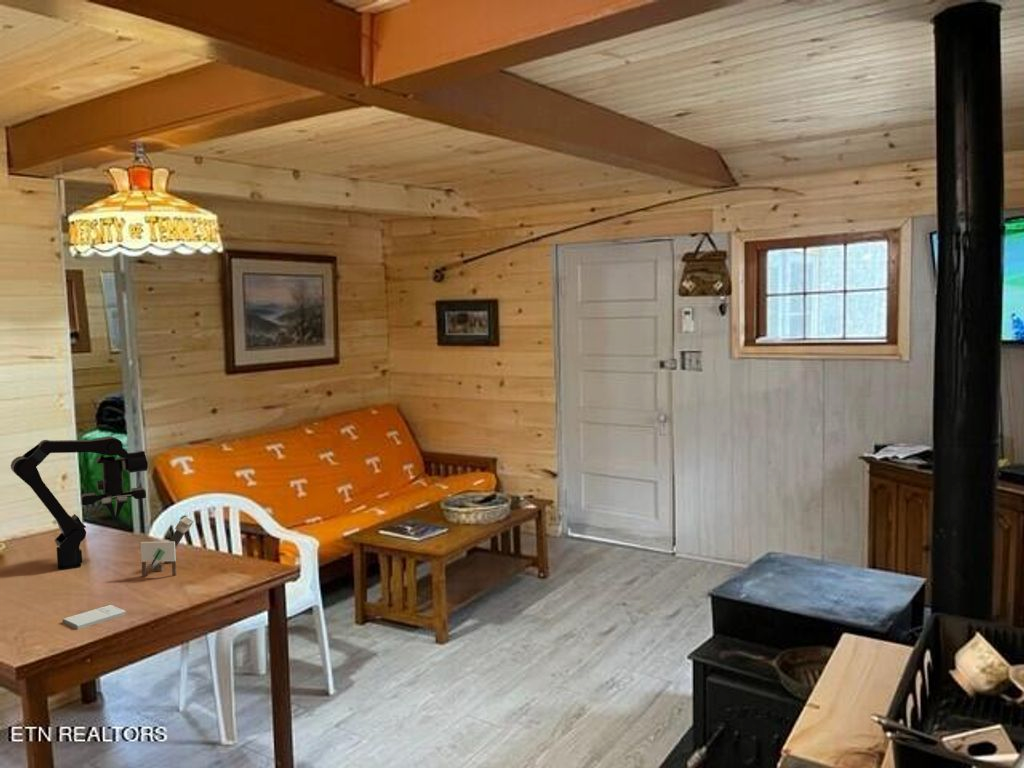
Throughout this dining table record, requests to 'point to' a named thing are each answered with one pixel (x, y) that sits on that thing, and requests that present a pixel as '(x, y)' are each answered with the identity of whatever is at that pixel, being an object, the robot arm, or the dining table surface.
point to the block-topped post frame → (175, 537)
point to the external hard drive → (94, 617)
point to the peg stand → (160, 567)
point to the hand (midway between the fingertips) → (115, 521)
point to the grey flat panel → (152, 548)
